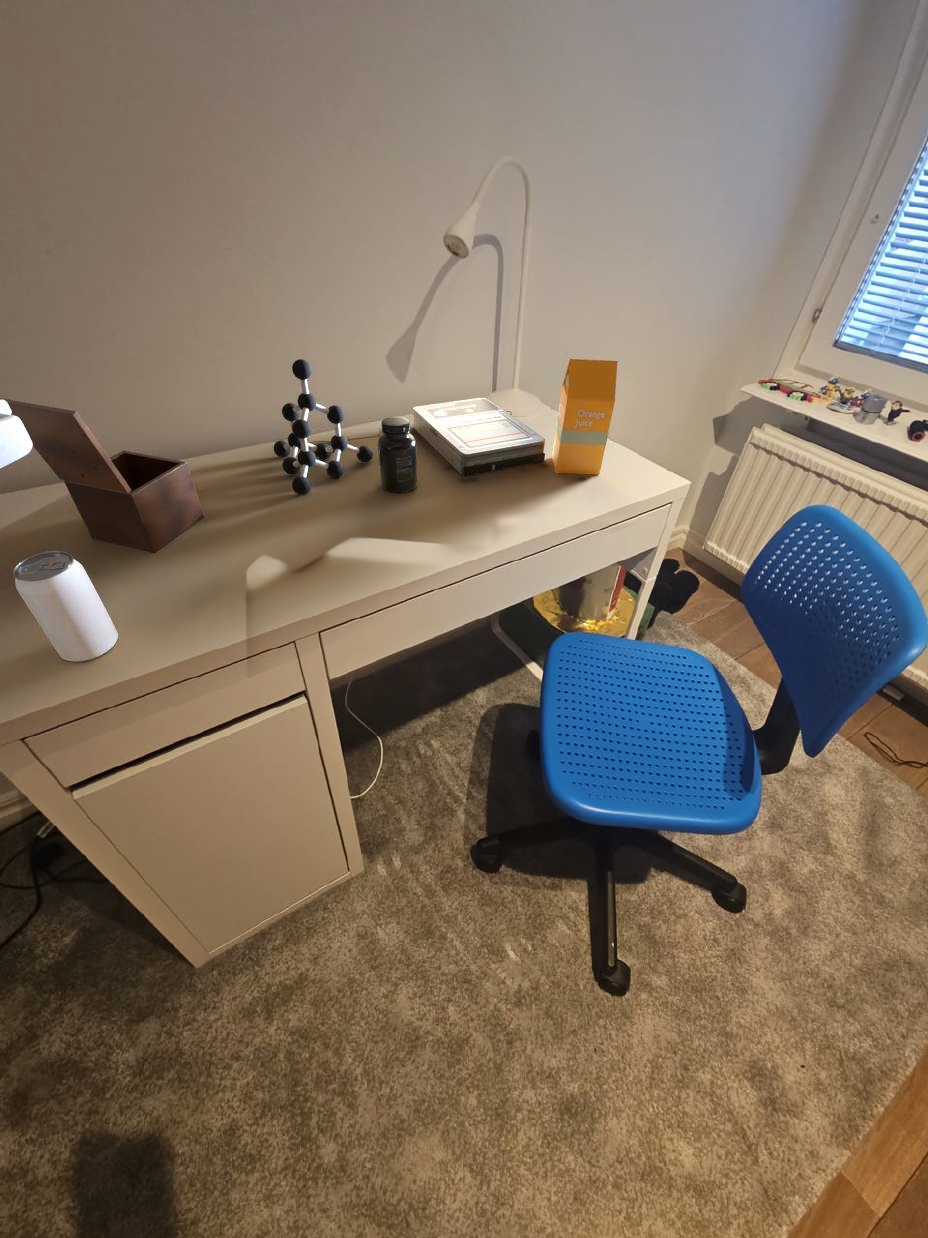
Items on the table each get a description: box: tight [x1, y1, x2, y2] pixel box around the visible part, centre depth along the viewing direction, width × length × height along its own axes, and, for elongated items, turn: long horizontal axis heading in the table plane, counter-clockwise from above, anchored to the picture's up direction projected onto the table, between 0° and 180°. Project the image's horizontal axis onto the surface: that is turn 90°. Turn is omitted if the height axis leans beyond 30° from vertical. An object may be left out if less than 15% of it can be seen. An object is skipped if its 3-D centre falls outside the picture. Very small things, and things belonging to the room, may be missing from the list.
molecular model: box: [273, 358, 374, 496], centre depth 98 cm, size 18×20×20 cm
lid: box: [0, 397, 131, 494], centre depth 71 cm, size 12×12×1 cm
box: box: [63, 450, 205, 554], centre depth 84 cm, size 11×12×10 cm
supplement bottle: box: [376, 416, 418, 494], centre depth 96 cm, size 7×7×12 cm
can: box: [12, 550, 119, 663], centre depth 62 cm, size 6×6×12 cm
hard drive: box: [412, 397, 546, 478], centre depth 115 cm, size 18×27×4 cm
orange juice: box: [551, 358, 618, 475], centre depth 103 cm, size 8×9×20 cm
